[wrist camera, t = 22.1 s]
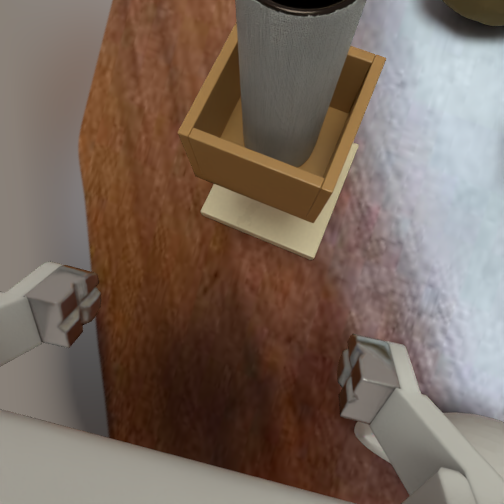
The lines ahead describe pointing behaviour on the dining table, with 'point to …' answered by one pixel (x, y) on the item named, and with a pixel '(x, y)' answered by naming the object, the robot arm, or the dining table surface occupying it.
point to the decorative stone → (480, 10)
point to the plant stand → (269, 169)
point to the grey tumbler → (291, 70)
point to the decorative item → (472, 428)
